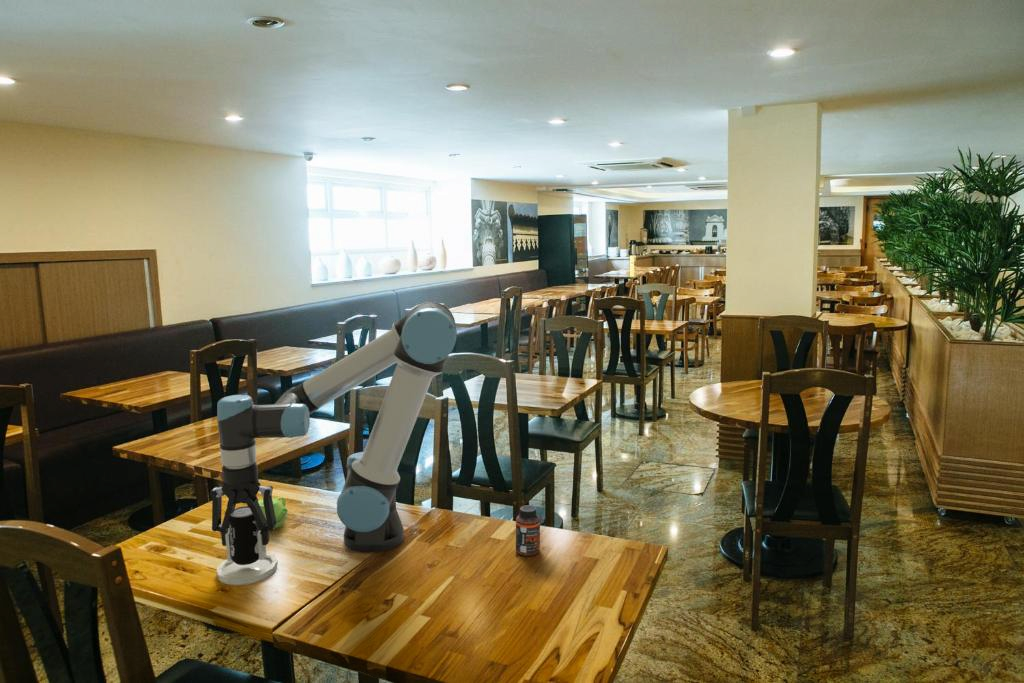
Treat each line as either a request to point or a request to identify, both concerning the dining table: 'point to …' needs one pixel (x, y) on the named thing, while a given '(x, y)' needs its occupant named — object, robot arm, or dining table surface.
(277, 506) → the green rounded body
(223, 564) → the saucer
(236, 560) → the beverage can
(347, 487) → the robot arm
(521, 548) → the supplement bottle
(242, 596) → the dining table surface
